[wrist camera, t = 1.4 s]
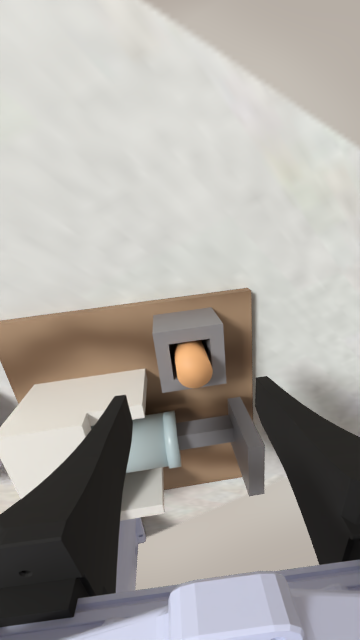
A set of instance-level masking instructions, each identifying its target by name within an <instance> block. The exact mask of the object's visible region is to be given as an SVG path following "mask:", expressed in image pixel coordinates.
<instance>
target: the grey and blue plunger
mask: <svg viewBox="0 0 360 640" xmlns="http://www.w3.org/2000/svg"><path fill="white" fill-rule="evenodd" d="M93 427H94V426H91V429H92V428H93ZM229 442H231V445H232V448H233V451H234V454H235V457H236V460H237V462H238V465H239V468H240V471H241V474H242V477H243V480H244V483H245V486H246V488H247V491H248V494H249V496H253V495H259V494H264V457H265V445H264V443H263V441H262V439H261V437H260V435H259V433H258V431H257V429H256V427H255V425H254V423H253V421H252V419H251V417H250V415H249V413H248V411H247V409H246V407H245V405H244V403H243V401H242V399H241V397H236V398H229V399H228V415H225V416H219V417H212V418H206V419H200V420H193V421H187V422H180V423H176V416H175V411H168V412H164V413H158V414H151V415H145V418H140V419H133V431H132V442H131V448H130V454H129V459H128V464H127V470H126V473H130V472H136V471H143V470H149V469H155V468H161V467H167V466H169V468H176V467H181V455H180V450H185V449H191V448H198V447H204V446H210V445H217V444H223V443H229Z"/></svg>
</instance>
